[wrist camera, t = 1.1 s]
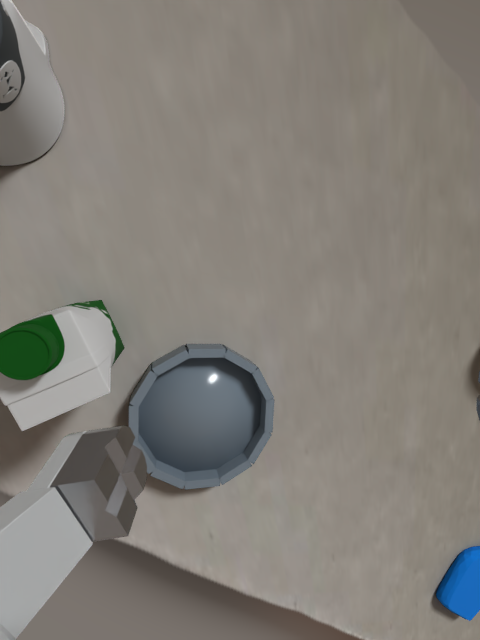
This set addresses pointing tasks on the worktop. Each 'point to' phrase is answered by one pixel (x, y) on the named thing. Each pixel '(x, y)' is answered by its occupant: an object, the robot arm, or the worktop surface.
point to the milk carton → (57, 361)
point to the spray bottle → (462, 584)
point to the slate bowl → (201, 415)
